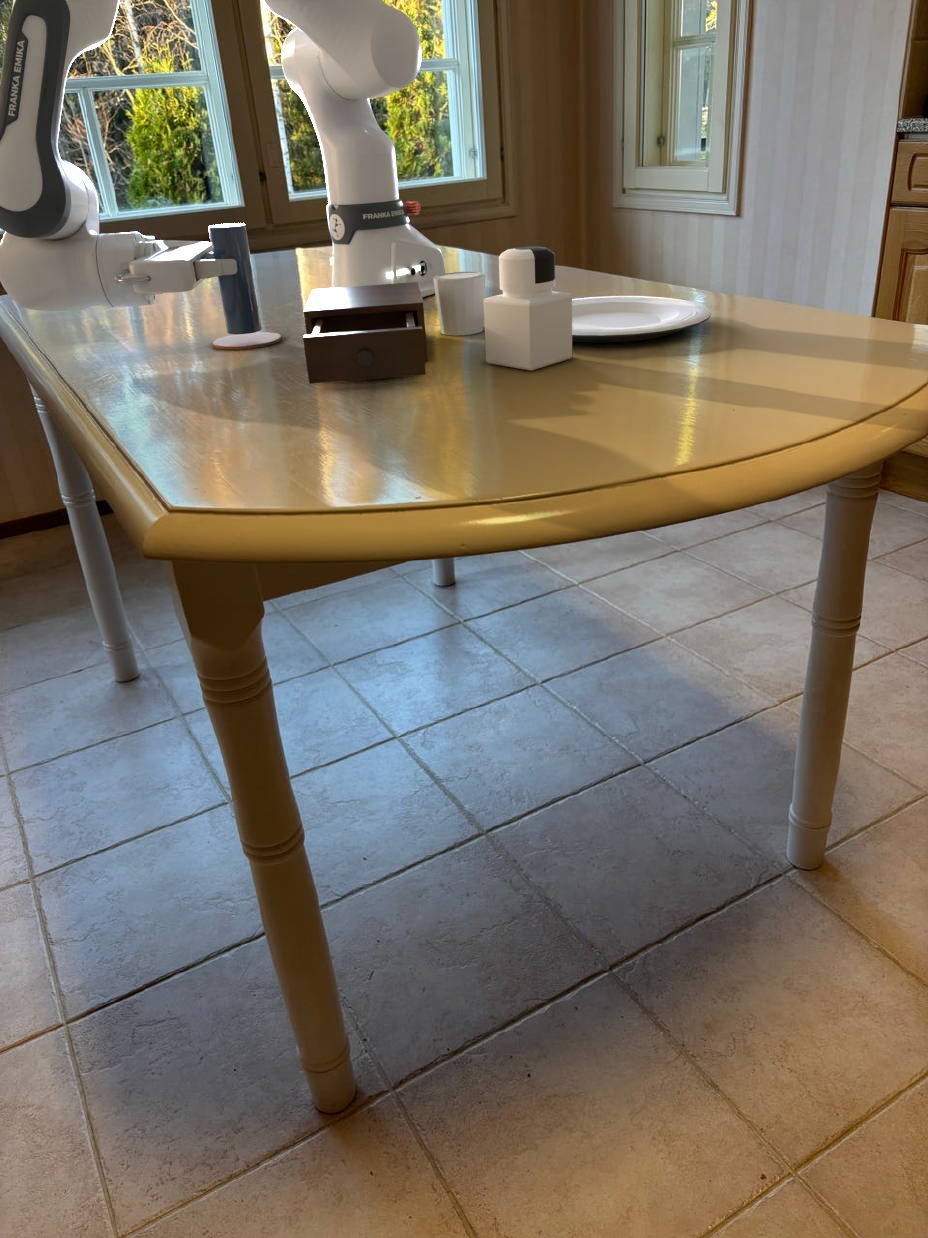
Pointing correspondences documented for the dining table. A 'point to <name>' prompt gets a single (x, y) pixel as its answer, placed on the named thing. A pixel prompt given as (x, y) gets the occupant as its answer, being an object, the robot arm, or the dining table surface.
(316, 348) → the drawer
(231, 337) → the coaster
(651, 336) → the plate
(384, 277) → the robot arm
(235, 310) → the cylinder
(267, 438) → the dining table surface
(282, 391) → the dining table surface
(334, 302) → the cabinet
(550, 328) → the medicine bottle
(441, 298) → the white cup
